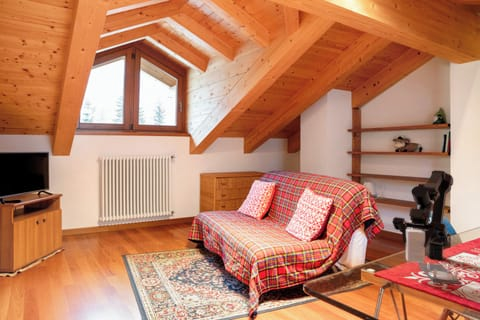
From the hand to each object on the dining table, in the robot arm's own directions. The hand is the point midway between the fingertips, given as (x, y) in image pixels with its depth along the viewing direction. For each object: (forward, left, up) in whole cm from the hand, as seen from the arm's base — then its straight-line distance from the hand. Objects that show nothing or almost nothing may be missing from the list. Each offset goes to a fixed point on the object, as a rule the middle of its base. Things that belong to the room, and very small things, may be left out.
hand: (414, 245), depth 131 cm
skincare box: (-1, +1, -7) cm, 7 cm away
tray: (-7, +11, -13) cm, 18 cm away
